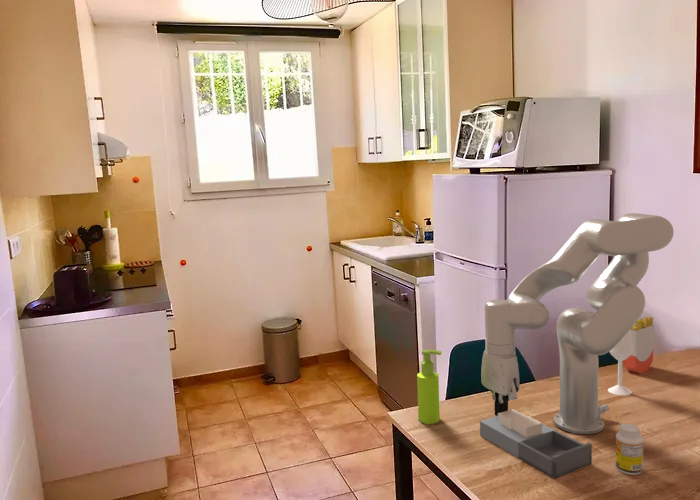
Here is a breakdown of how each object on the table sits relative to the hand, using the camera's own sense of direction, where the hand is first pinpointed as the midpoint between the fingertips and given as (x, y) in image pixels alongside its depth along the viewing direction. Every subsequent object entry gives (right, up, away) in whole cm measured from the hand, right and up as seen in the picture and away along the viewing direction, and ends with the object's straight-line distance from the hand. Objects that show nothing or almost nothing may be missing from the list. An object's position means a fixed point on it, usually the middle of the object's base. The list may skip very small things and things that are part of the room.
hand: (501, 415), depth 150 cm
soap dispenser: (-17, -4, +10) cm, 20 cm away
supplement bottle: (+23, -7, -21) cm, 32 cm away
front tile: (+4, -2, -8) cm, 9 cm away
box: (+8, -6, -15) cm, 19 cm away
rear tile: (+2, -1, -4) cm, 4 cm away
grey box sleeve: (+3, -5, -4) cm, 7 cm away
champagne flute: (+42, 0, +23) cm, 48 cm away
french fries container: (+56, +3, +40) cm, 69 cm away
